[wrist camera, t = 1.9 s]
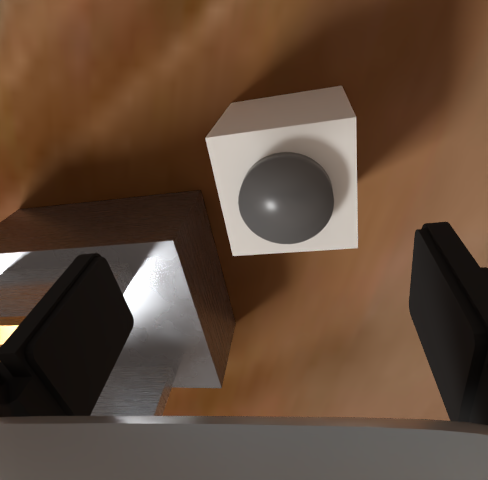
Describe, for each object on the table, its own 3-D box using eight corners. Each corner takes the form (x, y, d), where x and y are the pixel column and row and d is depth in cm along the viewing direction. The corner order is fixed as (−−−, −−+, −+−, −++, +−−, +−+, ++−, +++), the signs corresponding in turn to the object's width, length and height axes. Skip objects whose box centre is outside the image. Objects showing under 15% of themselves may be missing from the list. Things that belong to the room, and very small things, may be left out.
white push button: (341, 85, 19) (358, 122, 13) (345, 189, 22) (360, 257, 16) (231, 102, 20) (200, 144, 14) (249, 198, 23) (230, 265, 17)
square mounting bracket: (200, 190, 23) (138, 302, 15) (235, 323, 30) (206, 458, 21) (-5, 212, 27) (-156, 314, 18) (65, 327, 33) (-22, 445, 24)
